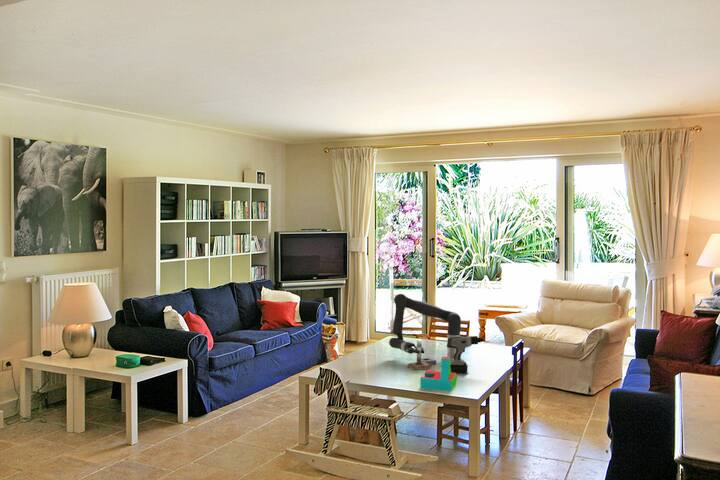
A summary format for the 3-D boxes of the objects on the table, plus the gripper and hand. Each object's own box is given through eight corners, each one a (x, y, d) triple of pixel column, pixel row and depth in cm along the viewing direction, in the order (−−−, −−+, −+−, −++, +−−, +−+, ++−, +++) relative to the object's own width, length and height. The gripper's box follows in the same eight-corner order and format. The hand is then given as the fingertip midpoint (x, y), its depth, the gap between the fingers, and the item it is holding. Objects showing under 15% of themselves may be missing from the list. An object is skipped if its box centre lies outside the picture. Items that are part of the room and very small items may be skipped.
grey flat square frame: (428, 360, 443) (428, 357, 443) (436, 363, 434) (436, 360, 434) (416, 362, 438) (416, 358, 438) (424, 365, 429) (424, 361, 429)
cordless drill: (483, 375, 403) (483, 337, 402) (446, 372, 408) (446, 335, 407) (483, 372, 411) (483, 335, 410) (446, 370, 416) (447, 333, 415)
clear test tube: (419, 363, 425) (420, 340, 424) (422, 364, 422) (422, 341, 421) (415, 363, 423) (415, 341, 423) (418, 365, 420) (418, 342, 420)
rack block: (422, 365, 430) (422, 361, 430) (430, 368, 421) (430, 364, 421) (408, 366, 424) (408, 363, 424) (415, 370, 415) (415, 366, 415)
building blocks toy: (457, 380, 389) (457, 352, 389) (451, 391, 366) (451, 361, 365) (428, 378, 395) (428, 350, 394) (420, 388, 371) (420, 358, 370)
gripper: (399, 342, 431) (412, 347, 416) (416, 341, 438) (430, 345, 423) (399, 353, 432) (412, 358, 416) (416, 351, 438) (429, 356, 423)
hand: (421, 352), depth 420 cm, fingers closed on clear test tube, 3 cm apart
